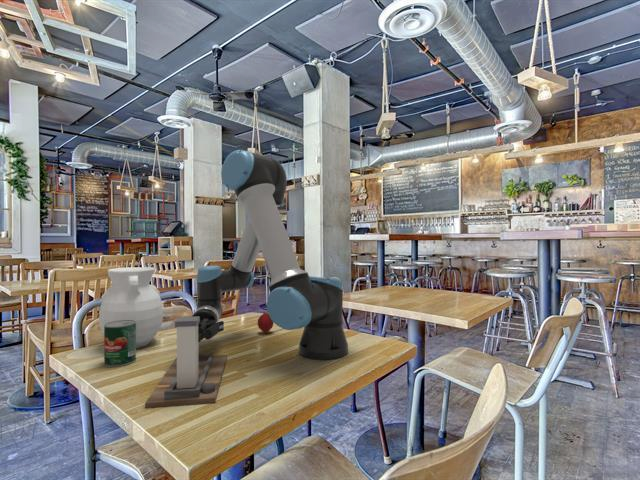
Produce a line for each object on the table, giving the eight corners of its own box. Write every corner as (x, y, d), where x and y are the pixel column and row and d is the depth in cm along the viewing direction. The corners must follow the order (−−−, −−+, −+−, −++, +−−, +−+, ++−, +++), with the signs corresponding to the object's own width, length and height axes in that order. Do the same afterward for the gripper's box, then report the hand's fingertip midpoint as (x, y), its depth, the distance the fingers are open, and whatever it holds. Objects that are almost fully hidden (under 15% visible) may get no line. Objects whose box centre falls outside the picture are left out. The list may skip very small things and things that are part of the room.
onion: (260, 330, 134) (260, 309, 134) (275, 331, 133) (275, 309, 133) (255, 334, 128) (255, 312, 128) (270, 335, 128) (270, 313, 127)
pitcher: (100, 341, 120) (100, 267, 120) (160, 334, 129) (160, 265, 129) (97, 358, 103) (97, 272, 103) (166, 348, 113) (165, 269, 112)
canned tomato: (101, 368, 95) (101, 327, 95) (106, 359, 102) (106, 321, 102) (134, 364, 98) (134, 325, 98) (137, 355, 105) (137, 318, 105)
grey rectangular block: (179, 381, 84) (179, 317, 84) (199, 379, 85) (199, 316, 85) (175, 389, 79) (174, 321, 79) (196, 387, 80) (196, 320, 80)
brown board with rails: (176, 361, 101) (176, 352, 101) (226, 358, 103) (226, 349, 103) (145, 407, 73) (145, 395, 73) (215, 402, 76) (215, 390, 76)
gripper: (226, 331, 109) (218, 357, 85) (182, 333, 106) (160, 361, 83) (226, 307, 109) (218, 326, 85) (182, 308, 106) (160, 329, 83)
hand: (189, 343), depth 84 cm, fingers closed
